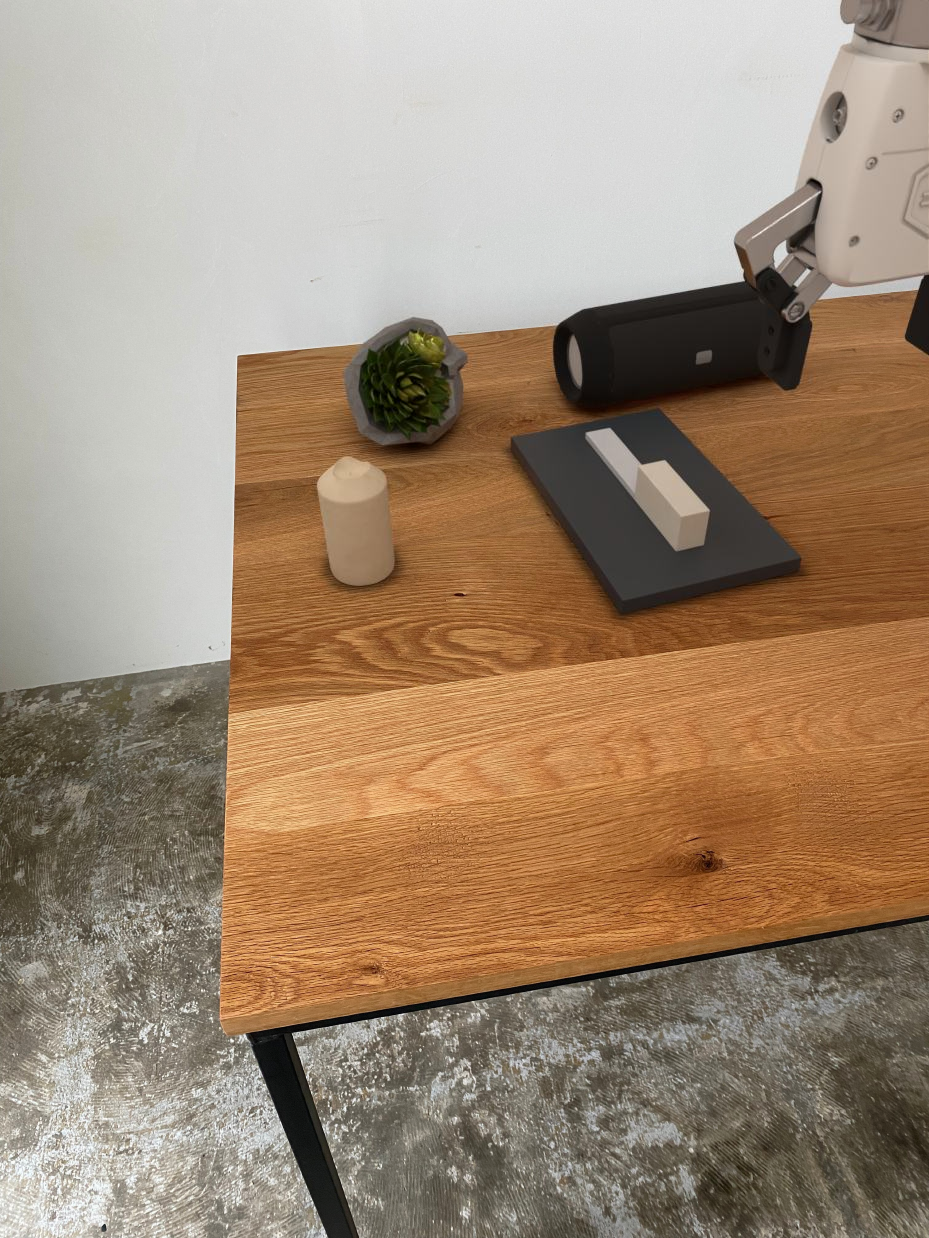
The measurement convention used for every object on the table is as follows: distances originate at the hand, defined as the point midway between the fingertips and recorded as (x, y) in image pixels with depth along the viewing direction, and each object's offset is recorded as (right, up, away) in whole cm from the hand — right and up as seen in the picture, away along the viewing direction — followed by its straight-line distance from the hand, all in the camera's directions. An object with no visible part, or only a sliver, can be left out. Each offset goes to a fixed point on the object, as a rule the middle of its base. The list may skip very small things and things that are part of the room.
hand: (852, 364), depth 53 cm
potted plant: (-27, +4, +42) cm, 50 cm away
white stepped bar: (-6, -3, +31) cm, 32 cm away
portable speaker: (+1, +11, +48) cm, 50 cm away
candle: (-31, -10, +27) cm, 42 cm away
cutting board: (-6, -4, +32) cm, 33 cm away
